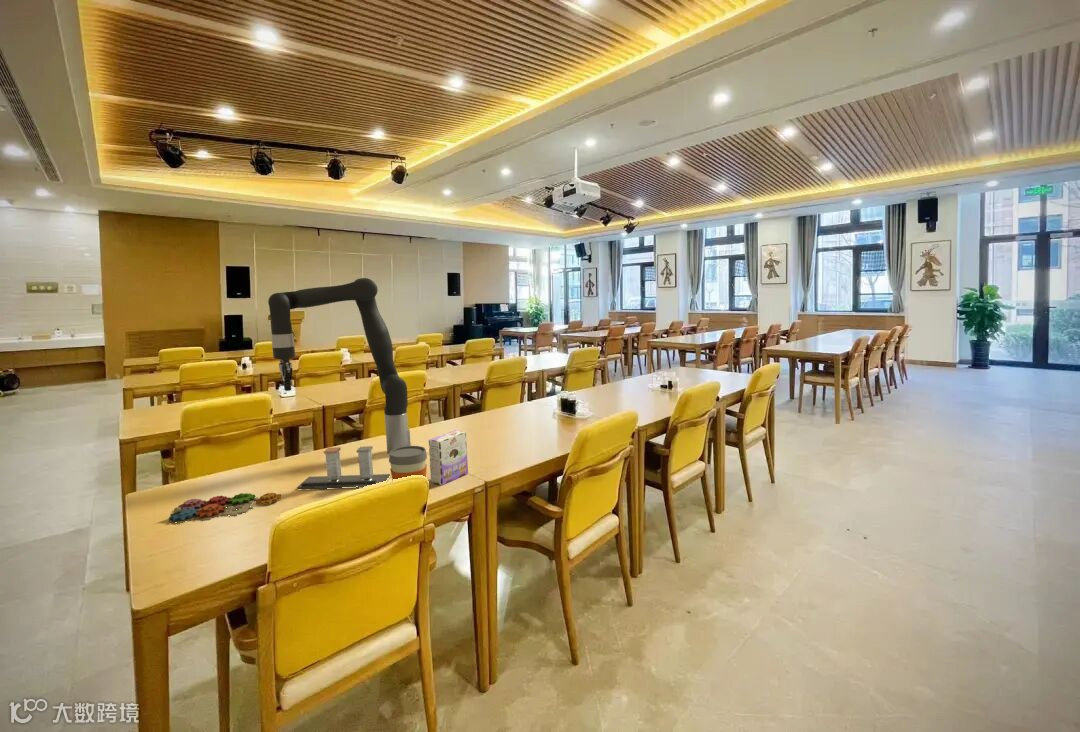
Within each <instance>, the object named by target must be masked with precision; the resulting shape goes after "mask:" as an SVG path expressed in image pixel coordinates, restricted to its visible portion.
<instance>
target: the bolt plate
mask: <svg viewBox="0 0 1080 732" xmlns="http://www.w3.org/2000/svg"><path fill="white" fill-rule="evenodd" d="M373 449H374V446H373V445H372V446H371V445H369V446H360V447H358V449H357V450H356V453H357V454H358V465H359V466H358V467H359V468H358V470H359V474H355V475H353V474H351V475H341V477H340V478H339V479H338V480H328V477H327V475H325V476H324V475H322V476H321V475H319V476H308V477H307V478H306V479H305V480H304V481H302V482H301V483H299V485H297V486H296V489H321V490H328V489H327V488H342V487H356V486H358V487H356V488H355V489H360V488H359V487H364V486H367V485H372V484H376V483H379V482H383V481H386V480H387V478H389V476H390V477H391V473H383V474H382V473H381V474H379V473H378V474H377V473H376V474H374V467H373V454H372V453H373V452H372V450H373ZM389 479H390V478H389Z"/></svg>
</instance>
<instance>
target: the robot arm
mask: <svg viewBox="0 0 1080 732" xmlns="http://www.w3.org/2000/svg"><path fill="white" fill-rule="evenodd" d="M377 294H378V285H377V284H376V283H375V281H373V280H372V279H371V278H370V279H369V278H368V277H361V278H357V279H355V280H353V281H352V282H349V283H345V284H340V285H331V286H318V287H311V288H303V289H298V290H295V291H284V292H283V291H282V292H275V293H273V294H271V295H270V296H269V298H268V301H267V303H268V307H269V308H268V309H269V314H270V315H269V316H270V329H271V347H272V348H271V349H272V356H273V359H274V360H279V362H278V368H279V373H280V377H281V380H282V381H283V390H284V391H285V392H289V391H292V385H291V383H292V380H293V364H292V362H291V361H290V360H291V359H294V358H295V357H296V351H295V341H294V340H295V339H294V335H293V326H292V320H291V310H295V309H305V308H312V307H318V306H325V305H328V304H334V303H340V302H347V301H355V304H356V305H357V308H358V311H359V313H360V316H361V322H362V326H363V331H364V333H365V338H366V341H367V345H368V348H369V351H370V352H371V355H372V359H373V361H374V364H375V366H376V369H377V373H378V378H379V383H380V384H379V385H380V389H381V391H382V393H383V394H384V396H385V399H384V400H385V407H384V409H383V411H384V412H383V413H384V423H385V425H384V427H385V439H386V441H385V442H386V453H387V454H388V455H389V452H390V451H391V450H393V449H396V448H399V447H404V446H412V443H411V431H410V429H409V426H408V425H409V424H408V423H409V422H408V412H407V411H408V409H407V408H408V386H407V382H406V381H405V380H404V379H403V378H402V377H400V376H399V374H398V371H397V368H396V366H395V363H394V351H393V342H392V338H391V335H390V332H389V330H388V327H387V325H386V322H385V321H384V319H383V316H382V314H381V313H380V310H379V308H378V304H377V300H376V296H377Z"/></svg>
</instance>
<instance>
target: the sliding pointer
mask: <svg viewBox="0 0 1080 732" xmlns="http://www.w3.org/2000/svg"><path fill="white" fill-rule="evenodd" d="M340 451H341V447H339V446H338V447H337V446H336V447H327V448H326V449H324V451H323V455H324V454H325V463H326V476H327V477H328V480H338V479H339V478H340V477H341V476H342V467H341V466H342V465H341V456H340V455H341V454H340Z"/></svg>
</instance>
